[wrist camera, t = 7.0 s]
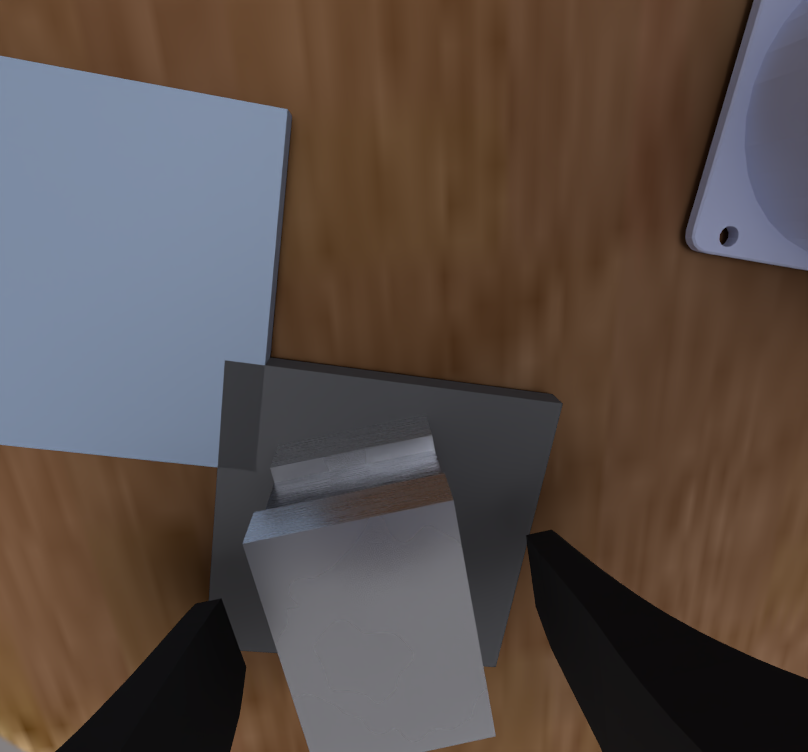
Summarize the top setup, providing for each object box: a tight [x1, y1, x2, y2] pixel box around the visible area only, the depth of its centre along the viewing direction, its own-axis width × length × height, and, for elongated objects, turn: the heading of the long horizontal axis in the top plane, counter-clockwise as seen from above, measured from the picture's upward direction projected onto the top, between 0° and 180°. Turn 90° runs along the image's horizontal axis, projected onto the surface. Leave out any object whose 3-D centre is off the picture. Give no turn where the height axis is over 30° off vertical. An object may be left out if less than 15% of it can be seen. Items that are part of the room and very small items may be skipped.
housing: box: [243, 415, 496, 752], centre depth 13 cm, size 6×4×4 cm, turn 11°
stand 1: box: [0, 56, 292, 467], centre depth 13 cm, size 9×9×1 cm
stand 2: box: [209, 358, 563, 667], centre depth 15 cm, size 9×9×1 cm
